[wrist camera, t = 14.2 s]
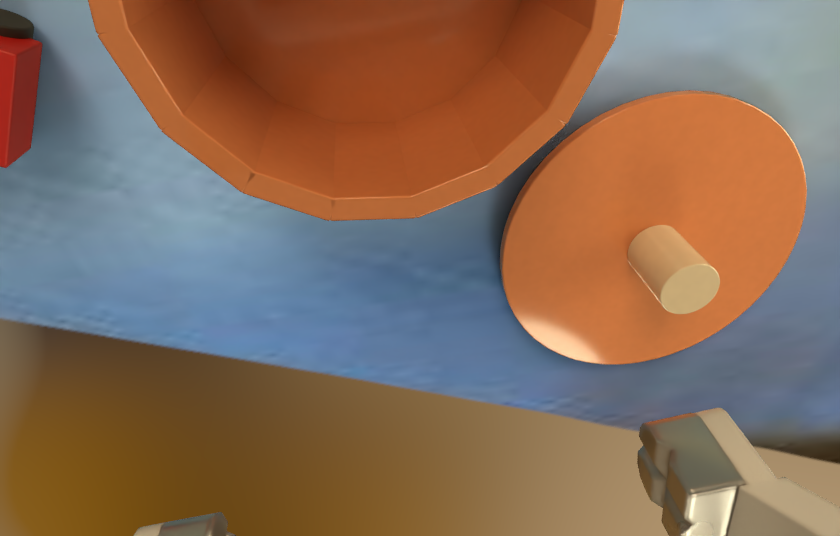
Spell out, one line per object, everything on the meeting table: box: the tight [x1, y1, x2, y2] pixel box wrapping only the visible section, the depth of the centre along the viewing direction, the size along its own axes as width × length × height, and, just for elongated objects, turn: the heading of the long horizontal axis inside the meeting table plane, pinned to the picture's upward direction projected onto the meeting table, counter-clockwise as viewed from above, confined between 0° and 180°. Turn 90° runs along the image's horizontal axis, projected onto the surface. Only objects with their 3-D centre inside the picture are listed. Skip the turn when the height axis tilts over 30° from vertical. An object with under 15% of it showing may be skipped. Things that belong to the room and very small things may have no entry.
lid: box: [500, 90, 807, 364], centre depth 27 cm, size 15×15×5 cm
